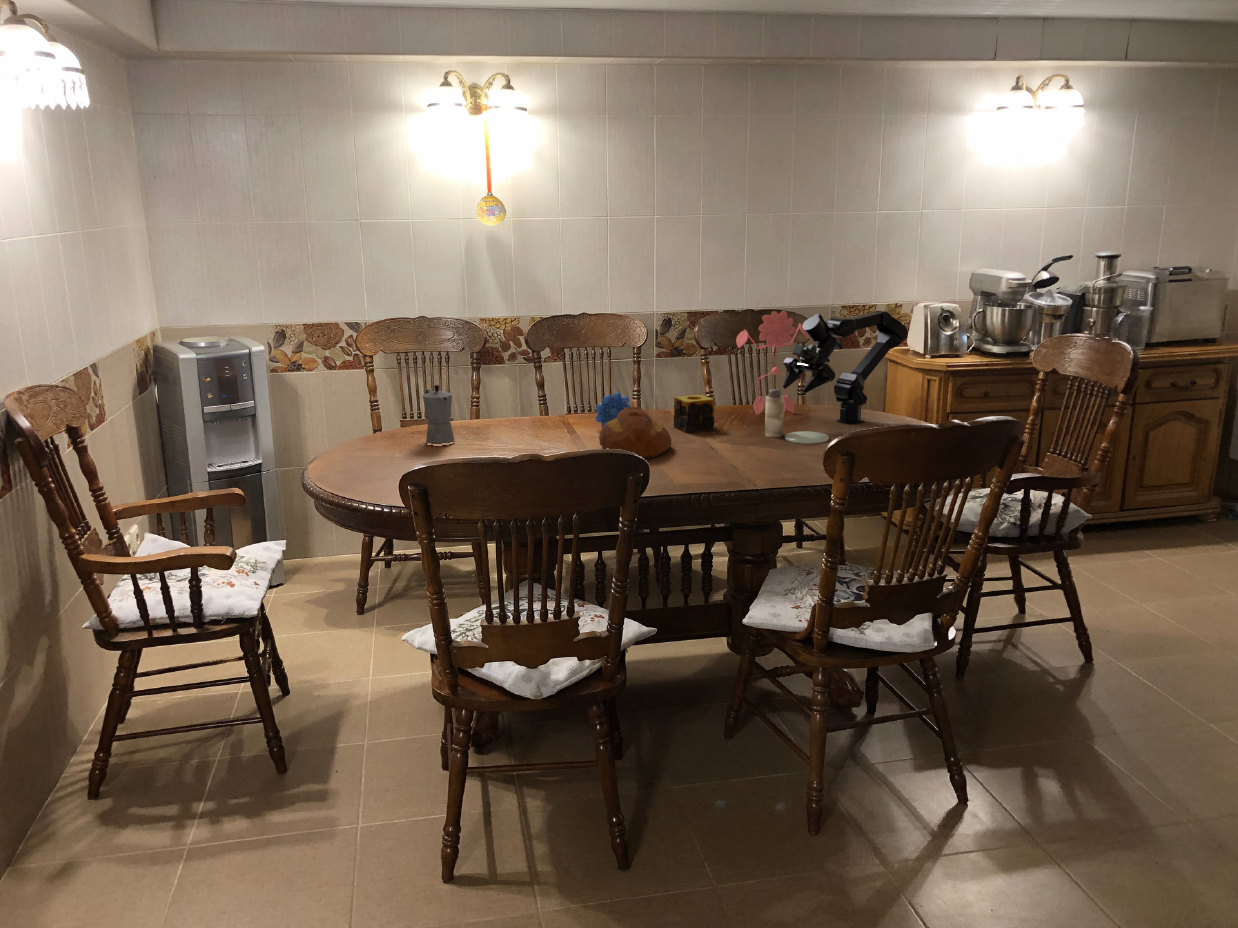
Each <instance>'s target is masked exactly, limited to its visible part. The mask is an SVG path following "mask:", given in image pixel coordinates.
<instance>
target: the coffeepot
mask: <svg viewBox="0 0 1238 928" xmlns="http://www.w3.org/2000/svg"><path fill="white" fill-rule="evenodd" d="M422 398H423V399H422V401H423V404H424V405H423V406H424V409H425V414H426V418H427V429H426V430H427V431H426V440H425V441H426V442H425V444H426V443H431V444H442V443H450V442H456V440H455V436H454V431H453V427H452V422H451V417H452V416H451V414H452V413H451V412H452V401H453V394H452V392H447V391H444V390H443V391H442V390H440V385H438V384H435V385H434V390H431V389H426V390H425V392H424V394H423V393H422ZM454 440H455V441H454Z"/></svg>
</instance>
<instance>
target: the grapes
mask: <svg viewBox="0 0 1238 928" xmlns="http://www.w3.org/2000/svg"><path fill="white" fill-rule="evenodd" d="M629 402H630V399H629V397H628V396H627V395H624V396H622V394H621V393H620V392H614V393H613V394H612V396H611V395H608V394H607V395H605V396H604V397H603V398H602V403H599V404H597V405H596V408H595V412H596V413H598V414H596V416H595V421H596V423H601V424H600V427H601V429H602V428H603V425H604V424H606V423H607V422H608V421H610V420H612V419H615V418H617V415H618V414H619V412H620V411H622V410H623V409H625V408H628V407H632V406H631V405H630V404H629Z"/></svg>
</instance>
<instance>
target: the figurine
mask: <svg viewBox="0 0 1238 928" xmlns="http://www.w3.org/2000/svg"><path fill="white" fill-rule="evenodd" d="M761 318H762V321H763V323H762V324H760V325H759V326H758V331H759V332H760V333H759V337H758V339H759V340H760V341H766V345H762V346H758V345H757V343H755V341H754V339H753V338H752V337H751V336H750V335H749V332H748V331H747V329H743V330H742V331H740V332H739V333H738V335H737V336H736V340H735V341H736V346H737V348H738V349H740V348H742V347H743V346H744V345H745V344H746V343H747V341H748V338H749V339H750V341H751V342H752V343H753V345H754V346H755V348H756V349H757V350H759V349H762V348H766V347H767V348H770V349H771V348H772V347H773V348H772V352H771V355H772V359H773V363H774V367H772V368H771V372H769V373H767V374H764V375H762V376H759V377H758V379H757V382H758V393H759V394H758V396H757V397H756V398H755V399H754V401H753V409H754V412H755V414H756V416H758V415H760V414H761V413H762V412H763V411H764V410H765V409H764V408H765V402H766V399H765V398H764V397H763V396H762V395H761V386H760V384H761V383H760V379H763V378H764V377H767V376H769V375H771V374H773V375H774V376H777V375H779V374H781V375H783V376H784V377H786V374H785V373H782V372H781V370H780V368H779V367H778V366H777V364H776V363H777V362H776V359H775V358H776V357H775V347H777V348H778V349H781V348H783V346H792V345H793V344H794V341H795V338H796V336H797V334H798V332H799V330H800V332H801V333H802V334H803V335H804V336H805V337H806V338H807V339H809V340H811V341H812V339H811V338H810V337H809V336H808V334H807V333H806V332H805V330H804V329H803V323H799V324H798V326H797V329H796V327H794V326H793V324H794V318H792V317H789V318H788V314H787V310H781V312H780V313H778V312H777V311H772V312H771V314H764V315H762V317H761ZM792 334H794V335H793V337H792V336H791V335H792ZM783 396H784V413H785V412H786V409H787V410H788V411H789V412H791V414H794V410H795V405H794V402H793V400H792V398H791V397H790V396H789V387H787V388H786V394H785V395H783ZM806 416H807V414H806V415H803V416H799V417H797V419H801V418H802V417H803V418H804V417H806ZM793 419H795V417H793V418H789V420H793ZM784 420H786V418H783V421H784Z"/></svg>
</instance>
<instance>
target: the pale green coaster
mask: <svg viewBox="0 0 1238 928" xmlns="http://www.w3.org/2000/svg"><path fill="white" fill-rule="evenodd" d="M784 439H785V440H786V441H787V442H790V443H794V444H802V445H804V444H805V445H813V444H814V445H815V444H816V445H818V444H823V443H826V442H829V439H830V437H829V435H828V434H826V433H823V432H818V431H806V430H805V431H792V432H789V433H788V432H787V433H786V434H785V435H784Z"/></svg>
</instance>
